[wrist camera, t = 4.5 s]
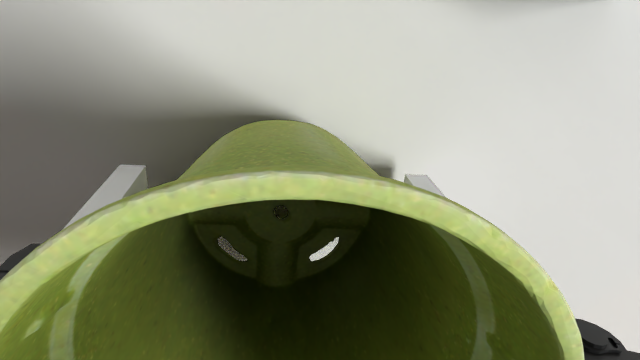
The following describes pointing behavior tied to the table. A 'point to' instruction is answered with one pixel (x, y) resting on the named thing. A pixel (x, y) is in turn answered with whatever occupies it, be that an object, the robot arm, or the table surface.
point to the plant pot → (283, 269)
